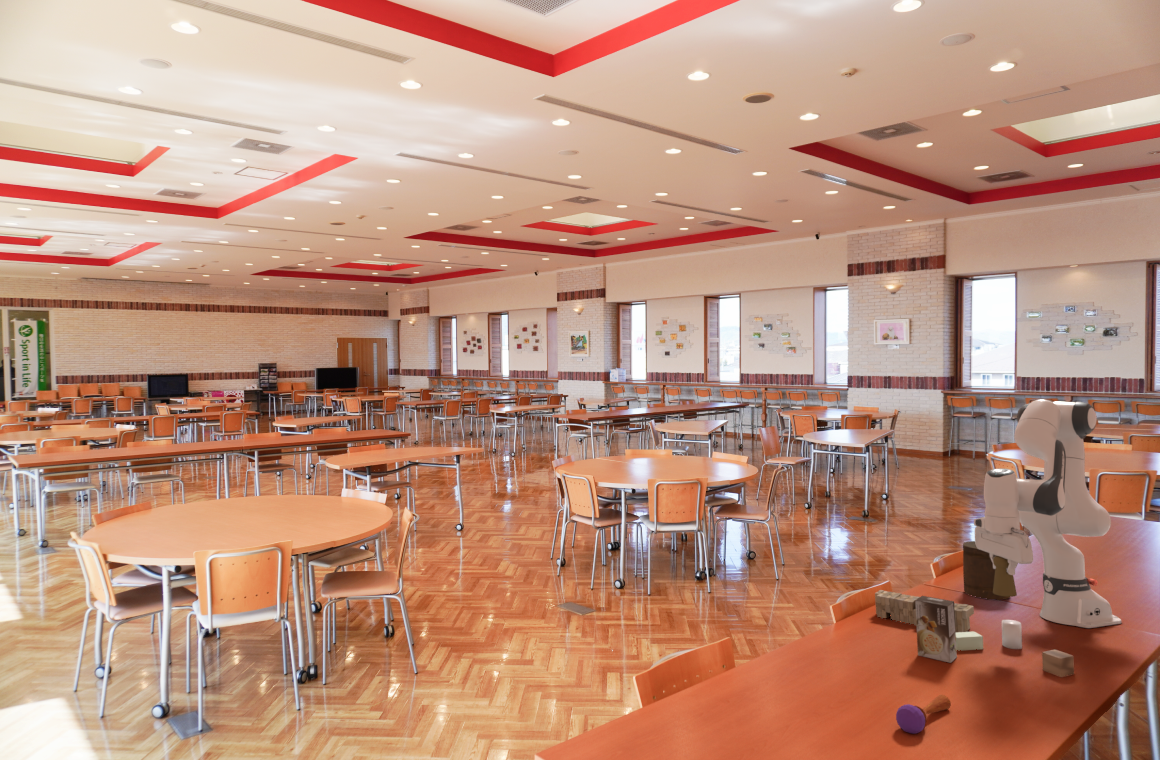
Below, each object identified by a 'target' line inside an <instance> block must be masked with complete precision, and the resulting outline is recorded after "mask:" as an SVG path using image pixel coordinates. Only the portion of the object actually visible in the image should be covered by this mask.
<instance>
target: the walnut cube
mask: <svg viewBox="0 0 1160 760" xmlns="http://www.w3.org/2000/svg"><path fill="white" fill-rule="evenodd" d="M1041 653H1042V654H1041V655H1042V657H1041V658H1042V659H1041V660H1042V662H1041V663H1042V671H1043V672H1046V673H1048V674H1051V675H1054V676H1057V677H1059V678H1064V677H1068V676H1073V675H1075V663H1074V660H1075V659H1074V655H1072V654H1069V653H1067V652H1063V651H1061V650H1058V649H1051V650H1047V651H1041Z"/></svg>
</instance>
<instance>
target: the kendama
mask: <svg viewBox="0 0 1160 760" xmlns="http://www.w3.org/2000/svg"><path fill="white" fill-rule="evenodd" d="M951 706H952V702H951V700H950V698H949V697H948V696H946V695H945V694H939V695H937V697H935V698H934V699H933V700H932V701H930V703H928V704H927V705H926V706H925V707H923V708H922V707H920V706H917V705H913V704H910V703H907V704H903V705H901V706H899V708H897V711H896V714H895V716H896V718H895V720H896V722H897V724H898V726H899V727H900V729H902V731H904V732H905V733H909V734H912V735H914V734H918V733H920V732H922V731H924V728H925V724H926V723H927V715H928V714H934V713H937V712H942V711H945V710H949V709H950V708H951Z"/></svg>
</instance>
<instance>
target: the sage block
mask: <svg viewBox="0 0 1160 760" xmlns="http://www.w3.org/2000/svg"><path fill="white" fill-rule="evenodd" d="M976 649H977V650H984V636H983V635H981V634H980V633H978V632H976V631H973V630H972V631H967V632H956V651H957V650H958V651H959V652H960V650H961V651H976ZM958 651H957V652H958Z"/></svg>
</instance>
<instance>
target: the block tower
mask: <svg viewBox="0 0 1160 760" xmlns="http://www.w3.org/2000/svg"><path fill="white" fill-rule="evenodd" d="M874 597H875V598H874V599H875V600H874V602H875V615H876V614H877V615H876V616H877V618H878V617H881V618H880V619H883V618H888V617H889V616H890V615H891V616H890V617H889V618H890V620H891V619H892V620H896V621H895V622H897V621H901V622H900V623H902V622H905V623H904V624H906V623H910V624H909V625H911V624H914V625H913V626H916V604H915V601H916V600H917V599H918V598H919V597H920V596H915V595H909V594H902V593H900V592H895V591H887V590H883V589H879V590H877V591H876V592H874ZM954 610H955V632H968V631H969V630H970V629H971V623H970V622H971V621H970V617H971V616H973V615H974V614H975V609H974V605H972V604H971V605H969V604H968V603H967V604H966V603H955V602H954ZM889 618H888V619H889ZM892 620H891V621H892Z"/></svg>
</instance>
